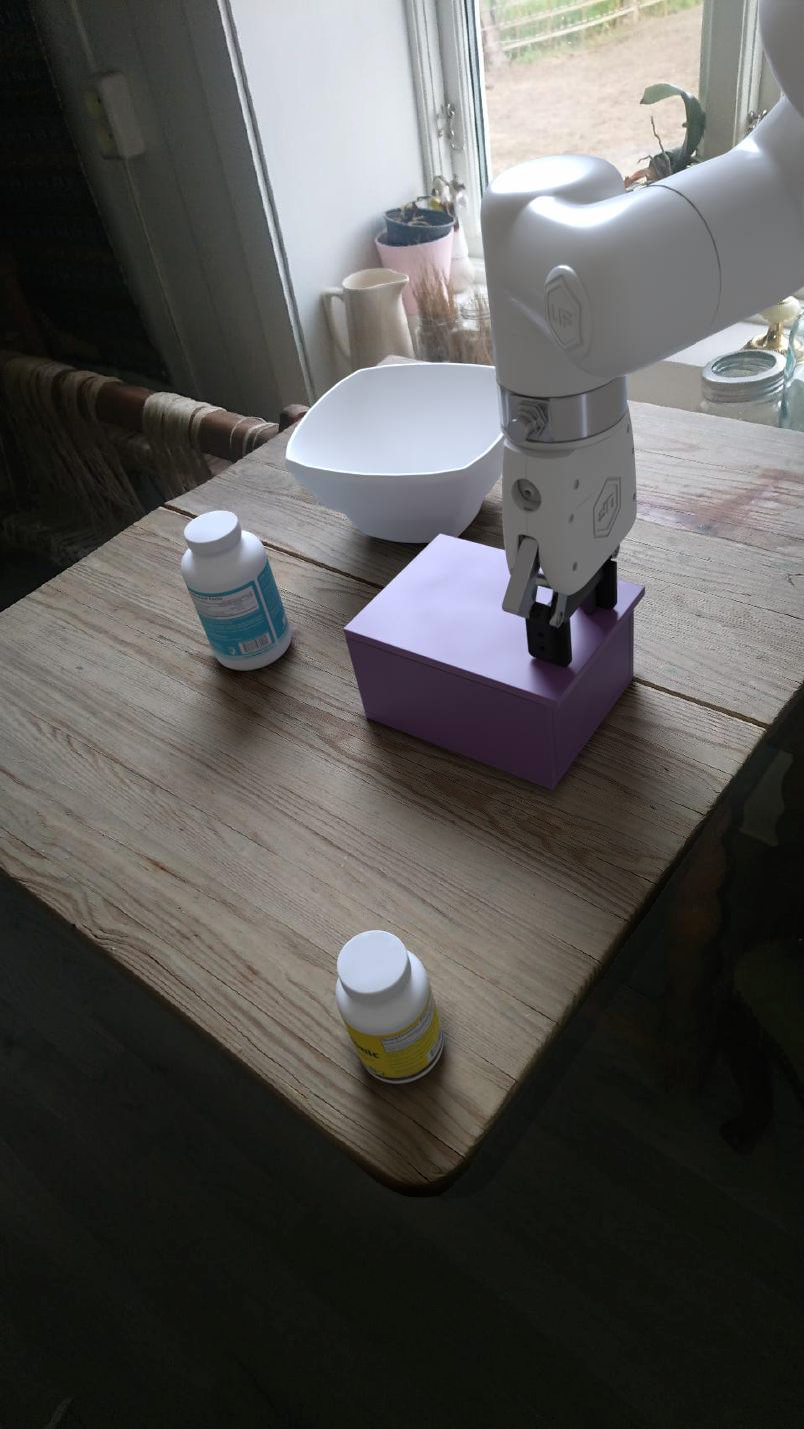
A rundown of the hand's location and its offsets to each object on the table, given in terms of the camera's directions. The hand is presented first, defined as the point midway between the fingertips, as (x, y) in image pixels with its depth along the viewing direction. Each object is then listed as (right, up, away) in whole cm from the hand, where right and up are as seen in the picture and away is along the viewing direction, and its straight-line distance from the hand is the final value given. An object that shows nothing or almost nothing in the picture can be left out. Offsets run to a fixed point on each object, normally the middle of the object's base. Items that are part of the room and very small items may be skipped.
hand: (573, 628), depth 70 cm
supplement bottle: (-12, -27, -10) cm, 31 cm away
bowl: (-10, +14, +32) cm, 36 cm away
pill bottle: (-26, 0, +21) cm, 33 cm away
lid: (-5, +1, +4) cm, 7 cm away
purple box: (-4, -5, +11) cm, 12 cm away
